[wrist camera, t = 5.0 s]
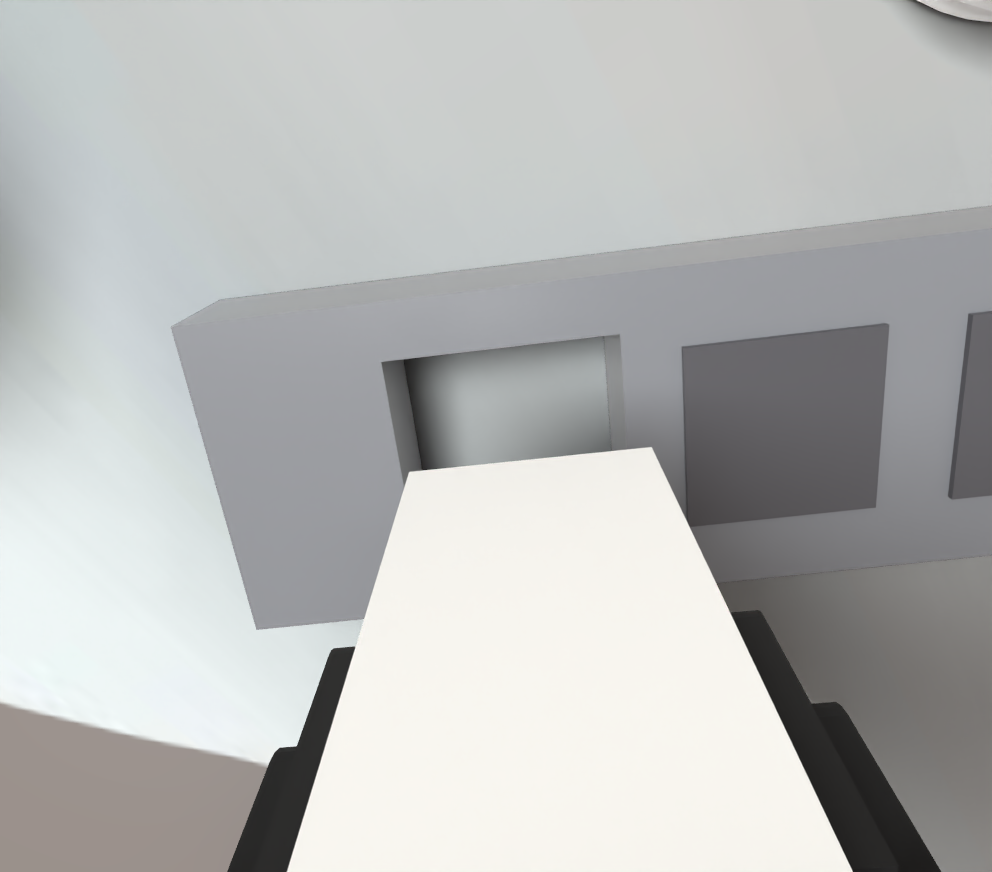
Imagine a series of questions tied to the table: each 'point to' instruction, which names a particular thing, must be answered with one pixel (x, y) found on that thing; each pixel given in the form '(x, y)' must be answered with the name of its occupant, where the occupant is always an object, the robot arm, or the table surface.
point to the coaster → (963, 8)
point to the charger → (555, 692)
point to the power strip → (629, 398)
